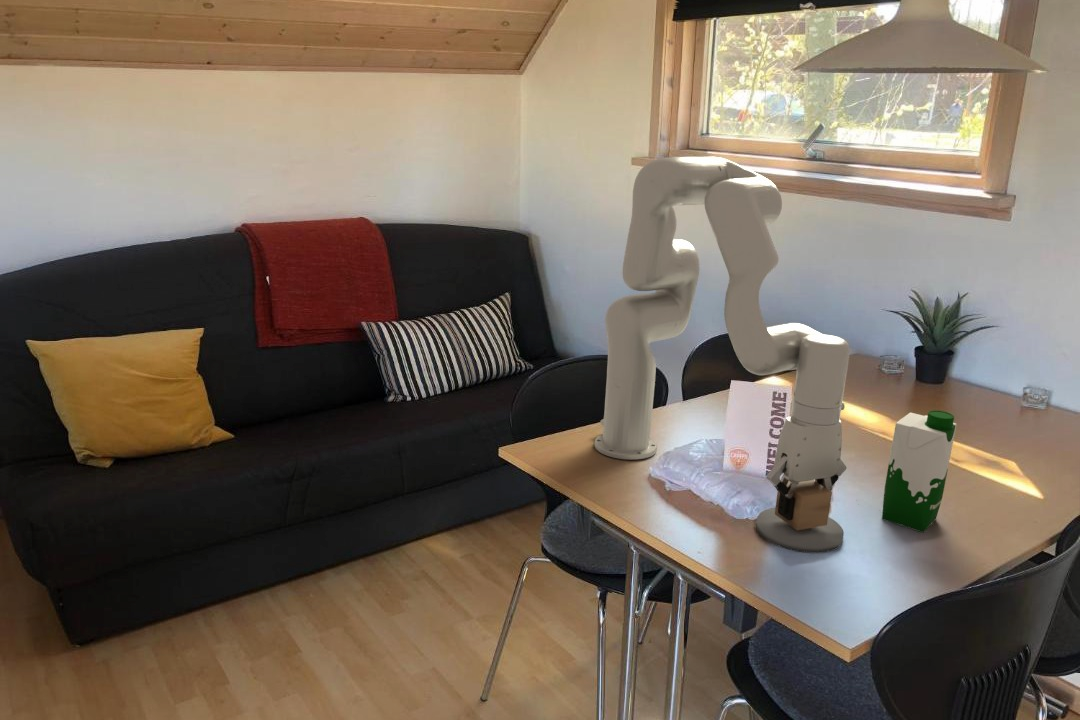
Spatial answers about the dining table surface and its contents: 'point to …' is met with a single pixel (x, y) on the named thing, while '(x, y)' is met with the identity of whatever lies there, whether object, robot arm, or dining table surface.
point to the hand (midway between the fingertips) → (801, 512)
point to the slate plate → (799, 534)
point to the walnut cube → (808, 505)
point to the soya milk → (918, 469)
